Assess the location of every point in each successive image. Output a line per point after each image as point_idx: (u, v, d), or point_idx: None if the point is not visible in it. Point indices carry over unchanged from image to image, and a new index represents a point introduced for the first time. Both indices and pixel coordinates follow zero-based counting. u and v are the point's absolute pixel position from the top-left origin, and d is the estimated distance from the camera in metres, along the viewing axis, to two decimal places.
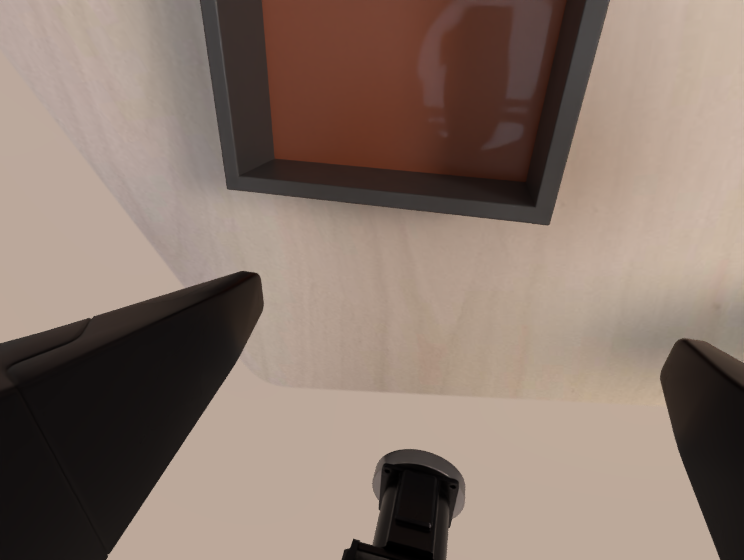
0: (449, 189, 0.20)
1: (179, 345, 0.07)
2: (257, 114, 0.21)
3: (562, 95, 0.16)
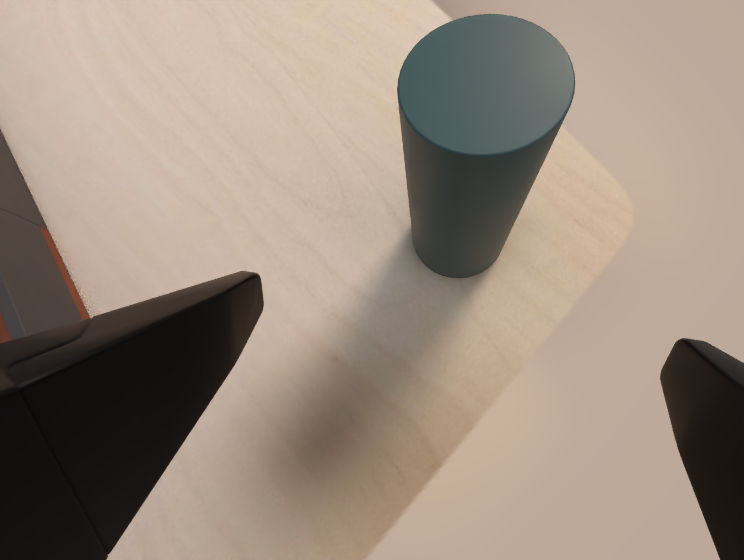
0: None
1: (179, 345, 0.07)
2: None
3: (4, 321, 0.20)
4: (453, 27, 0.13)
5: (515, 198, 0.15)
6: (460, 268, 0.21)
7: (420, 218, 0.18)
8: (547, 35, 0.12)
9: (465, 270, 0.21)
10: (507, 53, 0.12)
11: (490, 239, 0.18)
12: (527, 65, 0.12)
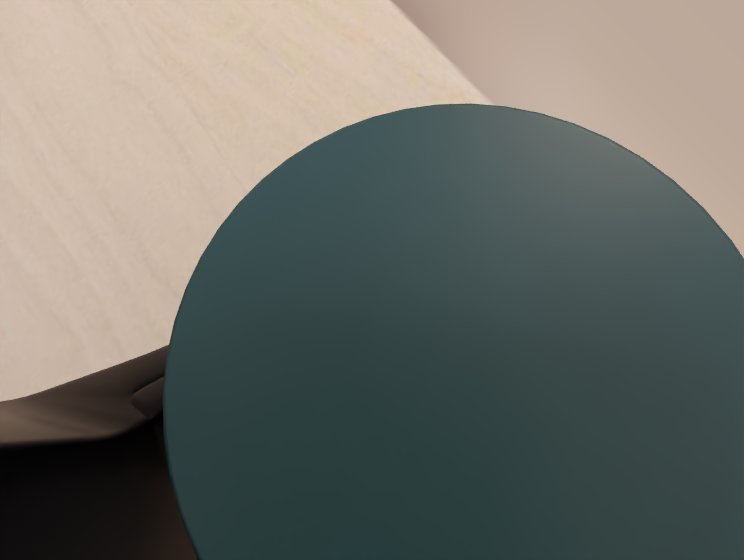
0: None
1: None
2: None
3: None
4: (357, 144, 0.04)
5: None
6: None
7: None
8: (667, 190, 0.04)
9: None
10: (531, 254, 0.04)
11: None
12: (604, 310, 0.03)
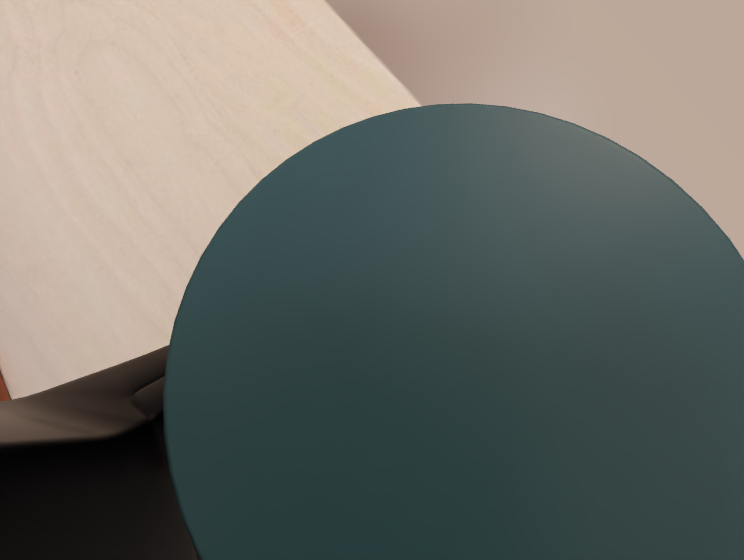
0: None
1: None
2: None
3: None
4: (357, 143, 0.04)
5: None
6: None
7: None
8: (666, 188, 0.04)
9: None
10: (529, 253, 0.04)
11: None
12: (603, 309, 0.03)
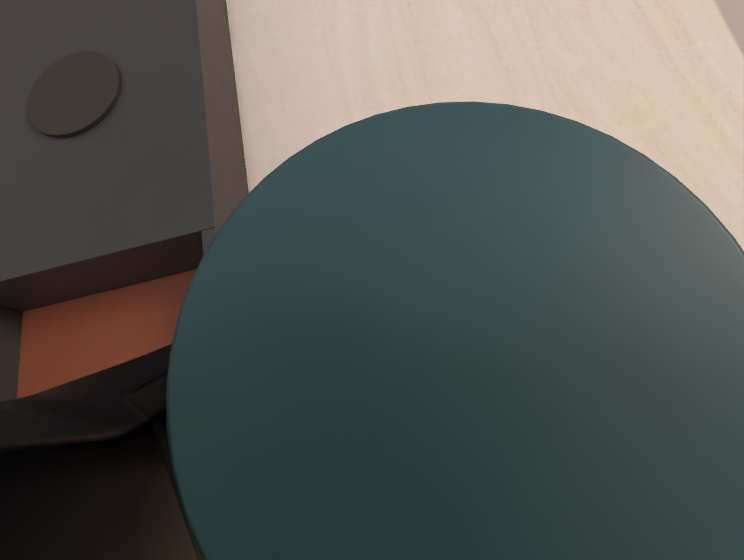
0: None
1: None
2: None
3: None
4: (360, 140, 0.04)
5: None
6: None
7: None
8: (671, 186, 0.04)
9: None
10: (534, 252, 0.04)
11: None
12: (607, 307, 0.03)
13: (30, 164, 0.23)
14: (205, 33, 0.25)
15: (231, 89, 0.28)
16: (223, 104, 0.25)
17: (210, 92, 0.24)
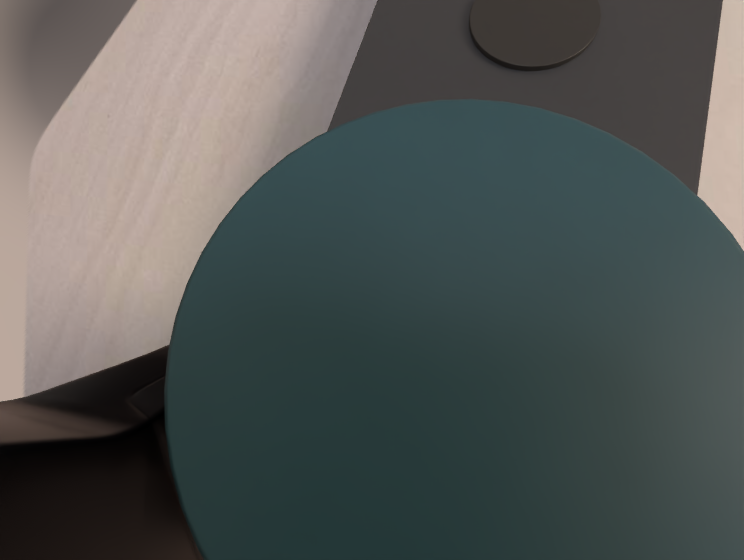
0: None
1: None
2: None
3: None
4: (358, 139, 0.04)
5: None
6: None
7: None
8: (667, 184, 0.04)
9: None
10: (532, 249, 0.04)
11: None
12: (604, 304, 0.03)
13: (455, 81, 0.19)
14: None
15: None
16: None
17: None
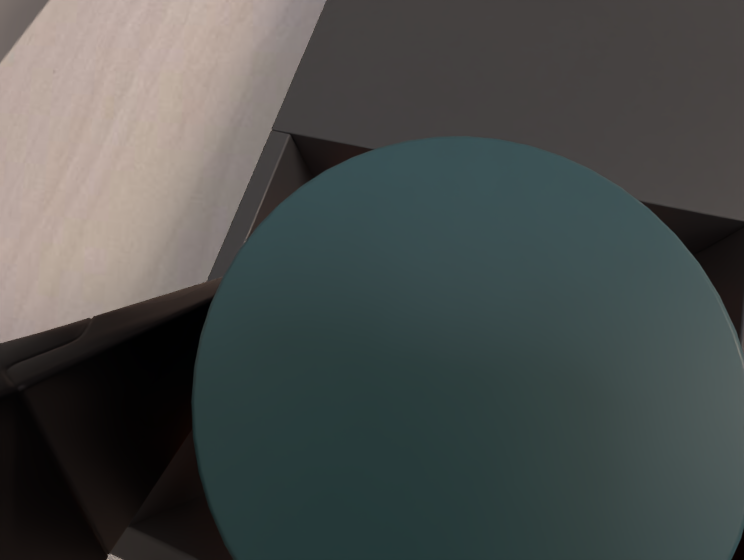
0: None
1: (179, 345, 0.07)
2: None
3: None
4: (364, 172, 0.05)
5: None
6: None
7: None
8: (643, 217, 0.04)
9: None
10: (522, 275, 0.04)
11: None
12: (586, 325, 0.04)
13: None
14: None
15: None
16: None
17: None
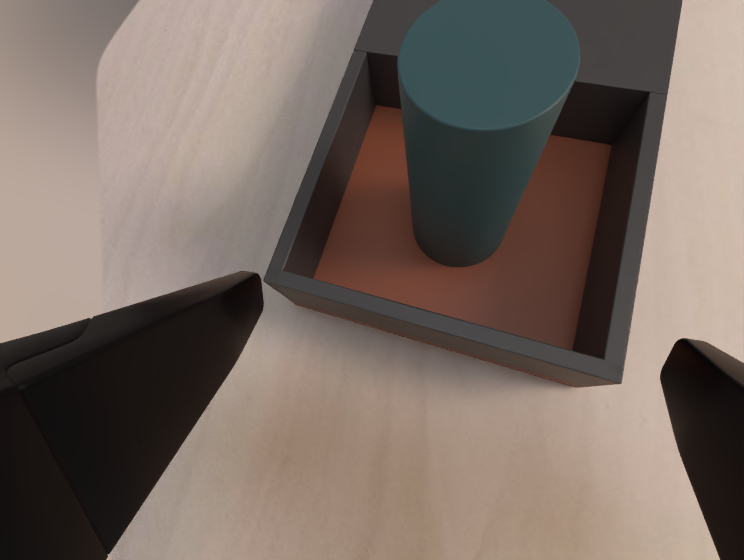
0: None
1: (179, 345, 0.07)
2: (316, 240, 0.22)
3: (621, 257, 0.17)
4: (454, 1, 0.12)
5: (518, 179, 0.14)
6: (461, 256, 0.21)
7: (420, 203, 0.17)
8: (550, 7, 0.12)
9: (466, 259, 0.21)
10: (510, 26, 0.12)
11: (492, 224, 0.17)
12: (530, 38, 0.12)
13: None
14: None
15: None
16: None
17: None
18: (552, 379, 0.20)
